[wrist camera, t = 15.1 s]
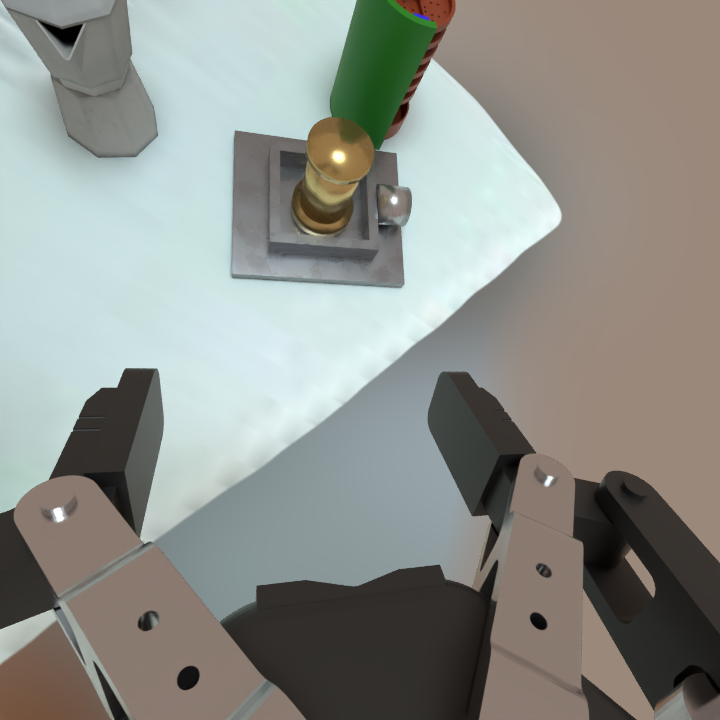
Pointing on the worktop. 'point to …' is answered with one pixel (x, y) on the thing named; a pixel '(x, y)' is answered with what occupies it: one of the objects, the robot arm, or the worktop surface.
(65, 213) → the worktop surface
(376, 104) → the motor
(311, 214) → the gold tall waisted piece
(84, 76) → the coffee maker
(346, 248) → the coupling base
